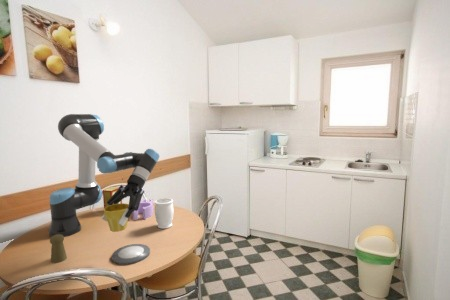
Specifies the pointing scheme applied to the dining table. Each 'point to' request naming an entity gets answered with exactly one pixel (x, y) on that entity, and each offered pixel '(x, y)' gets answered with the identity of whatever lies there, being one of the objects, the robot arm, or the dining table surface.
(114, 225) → the plant pot
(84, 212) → the dining table surface
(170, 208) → the jar
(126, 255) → the base
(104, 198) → the baking soda box
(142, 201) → the clip
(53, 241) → the cork
